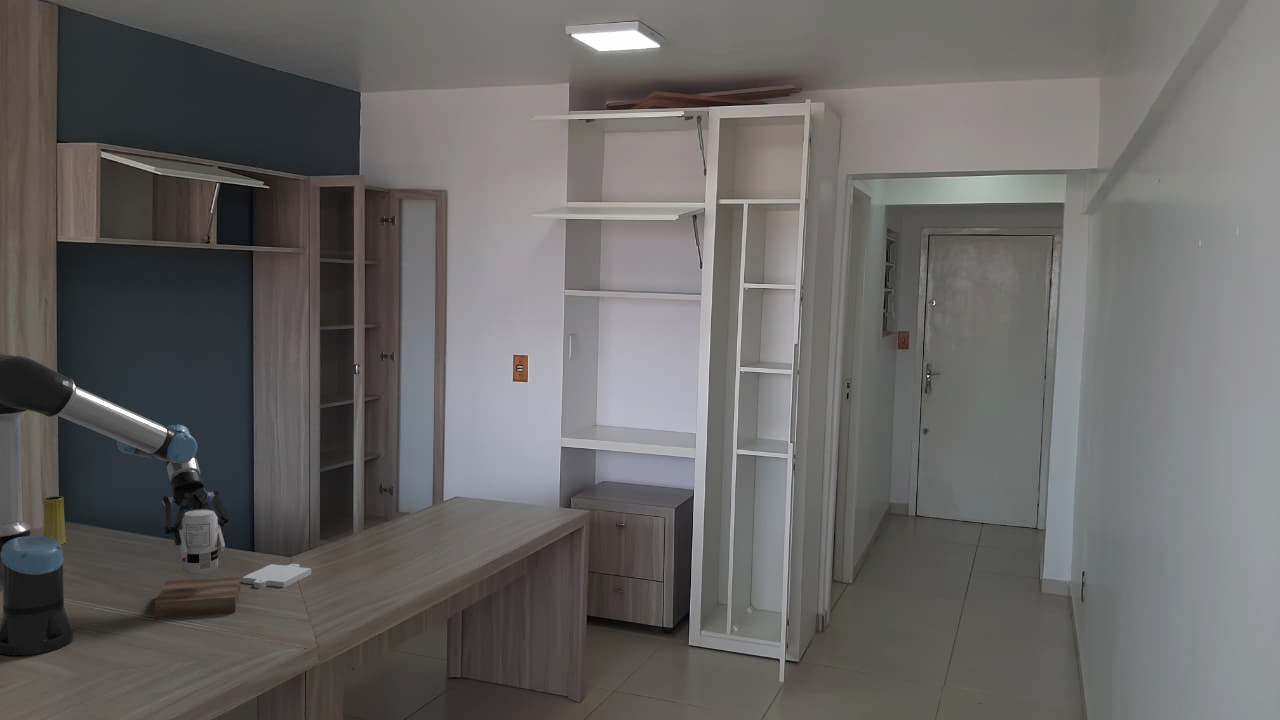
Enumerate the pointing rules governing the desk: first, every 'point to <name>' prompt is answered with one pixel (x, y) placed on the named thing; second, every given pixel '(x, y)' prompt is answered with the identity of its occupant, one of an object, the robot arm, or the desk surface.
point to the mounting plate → (276, 575)
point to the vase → (54, 518)
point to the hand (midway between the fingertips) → (204, 551)
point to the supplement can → (200, 541)
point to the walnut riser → (198, 597)
